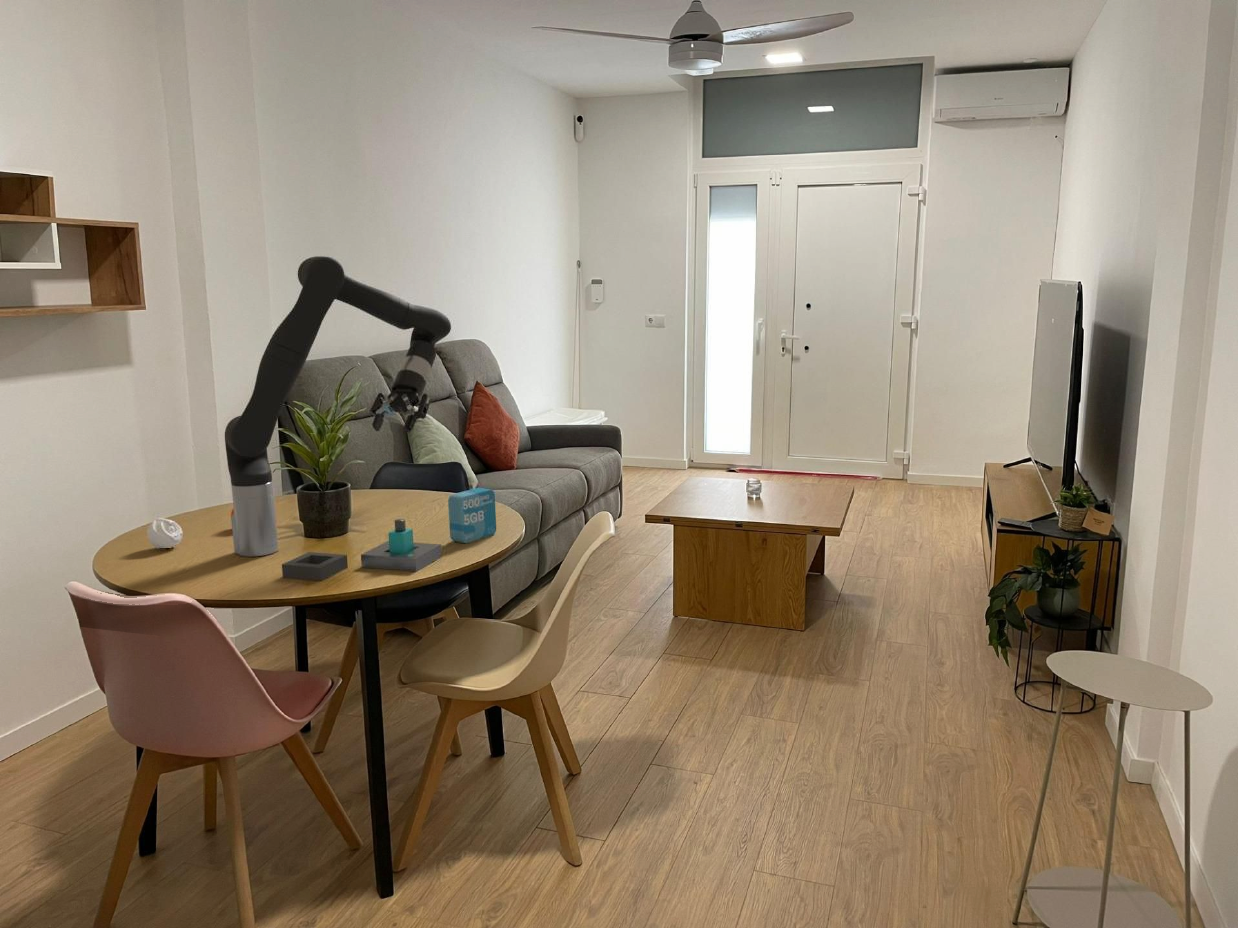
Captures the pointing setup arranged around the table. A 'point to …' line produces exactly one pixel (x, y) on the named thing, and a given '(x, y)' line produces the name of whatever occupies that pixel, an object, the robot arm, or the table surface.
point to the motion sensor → (164, 533)
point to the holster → (314, 566)
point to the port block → (401, 557)
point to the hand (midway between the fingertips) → (391, 429)
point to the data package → (472, 515)
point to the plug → (401, 538)
